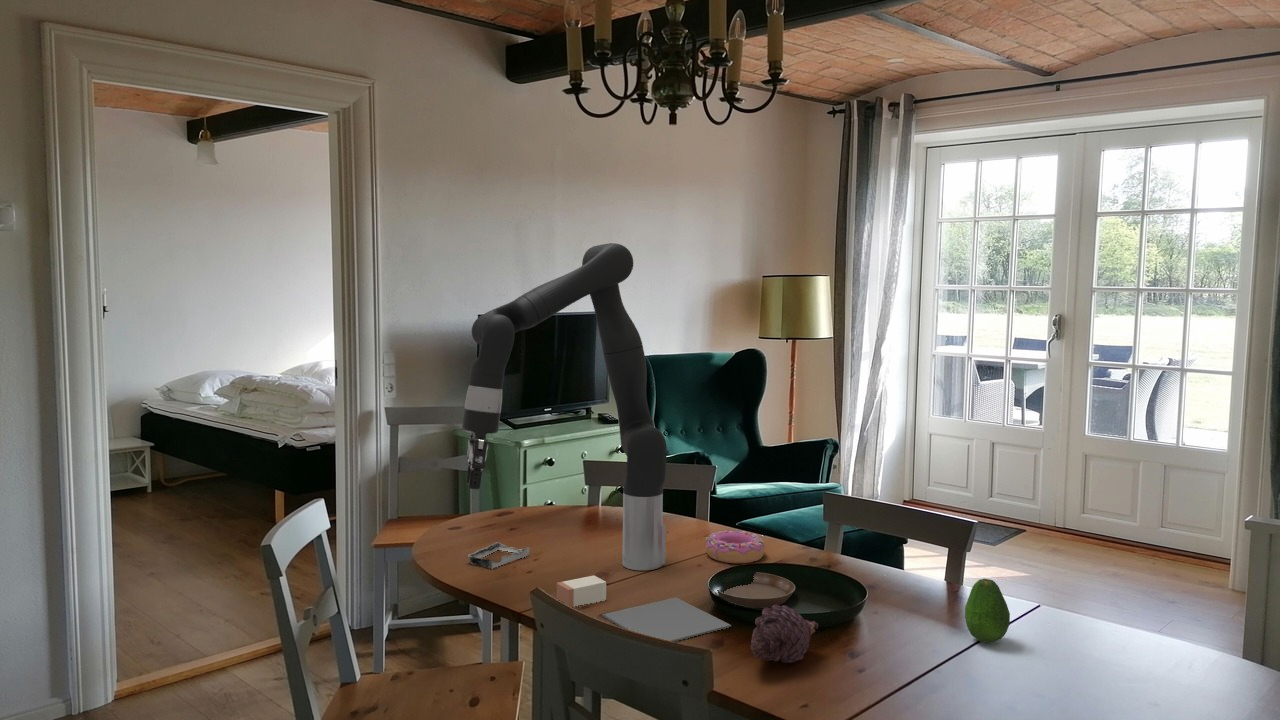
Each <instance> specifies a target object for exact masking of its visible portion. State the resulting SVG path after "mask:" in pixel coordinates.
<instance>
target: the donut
mask: <svg viewBox="0 0 1280 720" xmlns="http://www.w3.org/2000/svg"><path fill="white" fill-rule="evenodd" d="M765 547H766V546H765V541H764V540H763V538H762V536H759V535H757V534H755V533H752V532H748V531H744V530H736V529H733V530H731V529H730V530H729V529H727V530H721V531H718V532H717V531H716V532H713V533H710V534H708V535H707V537H705V551H706V553H707V554H708V556H709V557H710V558H711V559H713V560H716V561H718V562H721V563H727V564H728V563H729V564H749V563H754V561H755V562H757V561H759V560H761V559H762V557H763V556H764V554H765Z"/></svg>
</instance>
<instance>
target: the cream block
mask: <svg viewBox="0 0 1280 720" xmlns="http://www.w3.org/2000/svg"><path fill="white" fill-rule="evenodd" d="M557 599H558V600H560V601H562V602H564V603H565V604H567V605H569V606H571V607H573V608H578V605H583V606H585V605H584V604H588V605H591V604H590V603H592V604H596V602H597V603H601V602H600V601H602V602H605V600H606V601H607V581H605V580H603V579H602V578H600V577H598V576H596V575H589V576H584V577H580V578H574V579H570V580H564V581H558V582H556V600H557ZM575 606H577V607H575ZM573 608H572V609H573Z"/></svg>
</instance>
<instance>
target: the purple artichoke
mask: <svg viewBox="0 0 1280 720" xmlns="http://www.w3.org/2000/svg"><path fill="white" fill-rule="evenodd" d="M754 624H755V627H754V628H753V631H752V635H751V640H750V641H751V644H750V649H751V652H752V654H753V655H754V658H755V659H759V660H765V661H773V662H778V661H781V662H782V663H784V664H786V663H791V664H792V663H795V662H796V661H799V660H800V661H801V660H803V659H804V657H805V654H806V653H807V651H808V648H809V647H810V641H811V638H812V635H813V634H814V633H815V632H816V630H817V629H818V628H819V623H818V622H816V621H815V620H813V621H810V620H808V619H804V617H803V616H802V615H801V614H800V613H799V612H798V611H796V609H794V608H791V607H790V606H788V605H783V604H782V605H773V606H772V607H769V608H762V610H761V615H760V616H757V617H756V618H755V620H754Z"/></svg>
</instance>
